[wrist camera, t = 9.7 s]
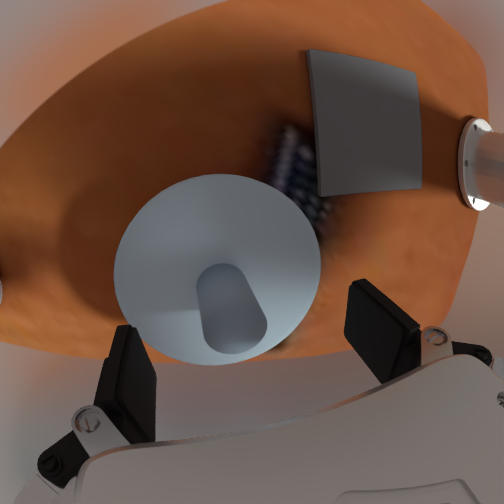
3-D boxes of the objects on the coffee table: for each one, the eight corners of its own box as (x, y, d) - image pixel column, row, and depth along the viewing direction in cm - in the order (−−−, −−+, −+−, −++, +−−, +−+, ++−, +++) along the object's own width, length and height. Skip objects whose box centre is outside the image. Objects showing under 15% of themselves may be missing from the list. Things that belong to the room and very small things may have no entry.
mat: (411, 73, 19) (415, 73, 18) (417, 187, 23) (421, 188, 23) (305, 51, 16) (309, 48, 16) (317, 195, 21) (321, 196, 20)
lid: (311, 164, 15) (364, 173, 10) (311, 333, 19) (342, 379, 15) (95, 195, 12) (57, 218, 8) (149, 366, 17) (147, 423, 12)
